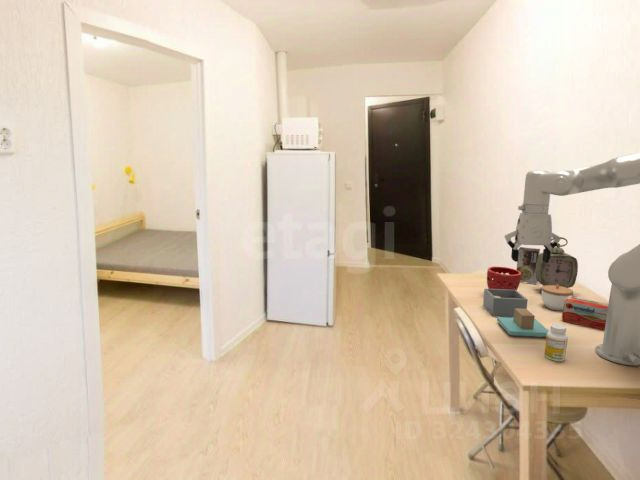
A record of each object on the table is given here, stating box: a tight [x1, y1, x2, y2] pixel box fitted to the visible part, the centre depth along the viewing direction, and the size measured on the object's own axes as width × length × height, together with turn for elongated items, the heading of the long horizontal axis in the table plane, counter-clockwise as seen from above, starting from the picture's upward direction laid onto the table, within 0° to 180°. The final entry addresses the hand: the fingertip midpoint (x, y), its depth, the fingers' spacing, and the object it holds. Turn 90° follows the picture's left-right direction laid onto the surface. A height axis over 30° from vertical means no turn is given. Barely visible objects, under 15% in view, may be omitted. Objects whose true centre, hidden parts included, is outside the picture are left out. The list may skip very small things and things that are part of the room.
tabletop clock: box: [536, 236, 579, 294], centre depth 186 cm, size 14×9×25 cm, turn 80°
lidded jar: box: [541, 285, 574, 311], centre depth 167 cm, size 11×11×9 cm
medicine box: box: [561, 296, 608, 332], centre depth 151 cm, size 15×8×8 cm, turn 50°
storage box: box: [482, 288, 529, 318], centre depth 163 cm, size 12×12×7 cm
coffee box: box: [516, 246, 541, 285], centre depth 204 cm, size 9×6×16 cm
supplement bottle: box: [544, 323, 569, 362], centre depth 124 cm, size 5×5×10 cm
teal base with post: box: [496, 308, 550, 338], centre depth 144 cm, size 13×13×7 cm
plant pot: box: [486, 266, 521, 291], centre depth 179 cm, size 13×13×12 cm
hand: (530, 261), depth 140 cm, fingers open, 9 cm apart
